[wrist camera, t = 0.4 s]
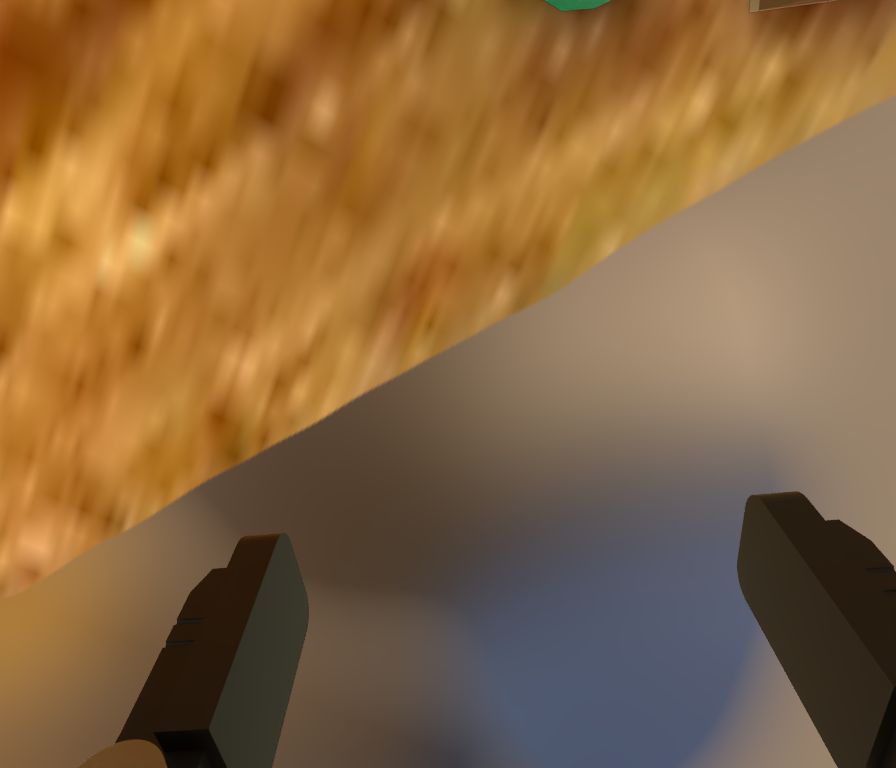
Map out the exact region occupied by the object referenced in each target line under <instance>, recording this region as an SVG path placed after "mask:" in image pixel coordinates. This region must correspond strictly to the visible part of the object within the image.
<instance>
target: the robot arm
mask: <svg viewBox="0 0 896 768" xmlns="http://www.w3.org/2000/svg"><path fill="white" fill-rule="evenodd" d="M737 571H738V578H739V583H740V587H741V589H742V592H743V595H744V597H745V599H746V601H747V603H748V605H749V607H750V609H751V610H752V612H753V614H754V616H755V618H756V620H757V621H758V623H759V625H760V627H761V629H762V631H763V632H764V634H765V636H766V638H767V639H768V641H769V643H770V645H771V647H772V649H773V650H774V652H775V654H776V656H777V658H778V660H779V661H780V663H781V665H782V667H783V668H784V671H785V672H786V674H787V676H788V678H789V680H790V682H791V683H792V685H793V687H794V689H795V691H796V692H797V694H798V696H799V698H800V700H801V702H802V703H803V705H804V707H805V709H806V711H807V712H808V714H809V716H810V718H811V720H812V721H813V723H814V725H815V727H816V729H817V730H818V732H819V734H820V736H821V738H822V740H823V742H824V743H825V745H826V747H827V749H828V750H829V752H830V754H831V756H832V758H833V760H834V762H835V763H836V765H837V767H838V768H896V572H895V570H894V566H893V565H892V564H891V563H890V562H889V560H888V559H887V558H886V557H885V556H884V555H883V554H882V553H881V551H880V550H879V549H878V548H877V547H876V546H875V544H874V543H873V542H872V541H871V540H869V539H868V538H866V537H865V536H863V535H862V534H860V533H859V532H857V531H855V530H854V529H852V528H851V527H849V526H848V525H846V524H844V523H843V522H841V521H840V520H828V521H825V520H824V518H823V517H822V516H821V515H820V514H819V512H818V511H817V510H816V509H815V507H814V506H813V505H812V504H811V503H810V501H809V500H808V499H807V498H806V497H805V496H804V495H803V494H802V493H800V492H784V493H772V494H760V495H752V496H750V497H749V498H748V500H747V502H746V506H745V513H744V520H743V526H742V534H741V540H740V547H739V553H738V561H737ZM308 616H309V606H308V597H307V593H306V589H305V586H304V583H303V580H302V577H301V573H300V570H299V567H298V564H297V560H296V557H295V554H294V550H293V547H292V544H291V541H290V539H289V537H288V535H287V534H285V533H279V534H268V535H256V536H245V537H242V538H241V539H240V540H239V542H238V544H237V546H236V548H235V550H234V553H233V555H232V557H231V559H230V562H229V564H228V566H227V568H219V569H212V570H211V571H210V573H209V574H208V575H207V576H206V577H205V578H204V579H203V580H202V581H201V582H200V583H199V584H198V585H197V586H196V587H195V588H194V589H193V590H192V591H191V592H190V594H189V596H188V598H187V600H186V602H185V604H184V606H183V608H182V610H181V612H180V614H179V616H178V618H177V624H176V625H174V626H173V629H172V630H171V632H170V634H169V636H168V638H167V640H166V647H165V648H162V650H161V652H160V654H159V657H158V659H157V661H156V663H155V665H154V667H153V669H152V671H151V673H150V675H149V677H148V679H147V681H146V683H145V685H144V687H143V689H142V691H141V693H140V695H139V697H138V699H137V701H136V703H135V705H134V707H133V709H132V711H131V713H130V715H129V717H128V719H127V721H126V723H125V725H124V727H123V730H122V732H121V733H120V735H119V737H118V739H117V740H116V742H115V744H113V745H110V746H108V747H106V748H104V749H102V750H100V751H98V752H97V753H96V754H94V755H93V756H91V757H90V758H88V759H87V760H86V761H85V762H83V763H82V764H81V765H80V766H79V767H78V768H272V765H273V761H274V757H275V753H276V749H277V745H278V741H279V738H280V734H281V730H282V726H283V722H284V718H285V714H286V710H287V706H288V702H289V699H290V694H291V691H292V687H293V683H294V679H295V675H296V671H297V667H298V663H299V659H300V655H301V652H302V648H303V644H304V640H305V636H306V632H307V627H308V618H309V617H308Z"/></svg>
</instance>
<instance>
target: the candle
mask: <svg viewBox="0 0 896 768" xmlns="http://www.w3.org/2000/svg"><path fill="white" fill-rule="evenodd" d="M545 1H546V2H548V3H550V4H551V5H553V6H555V7H556V8H558V9H560V10H561V11H568V10H581V9H593V8H596V7H598V6H600V5H602V4H604V3H606V2H608V1H610V0H545Z"/></svg>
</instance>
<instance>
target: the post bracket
mask: <svg viewBox="0 0 896 768" xmlns="http://www.w3.org/2000/svg"><path fill="white" fill-rule="evenodd" d="M830 1H837V0H750V10H749V13H750V12H757V11H764V10H771V9H779V8H786V7H793V6H801V5H808V4H815V3H822V2H830Z"/></svg>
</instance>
